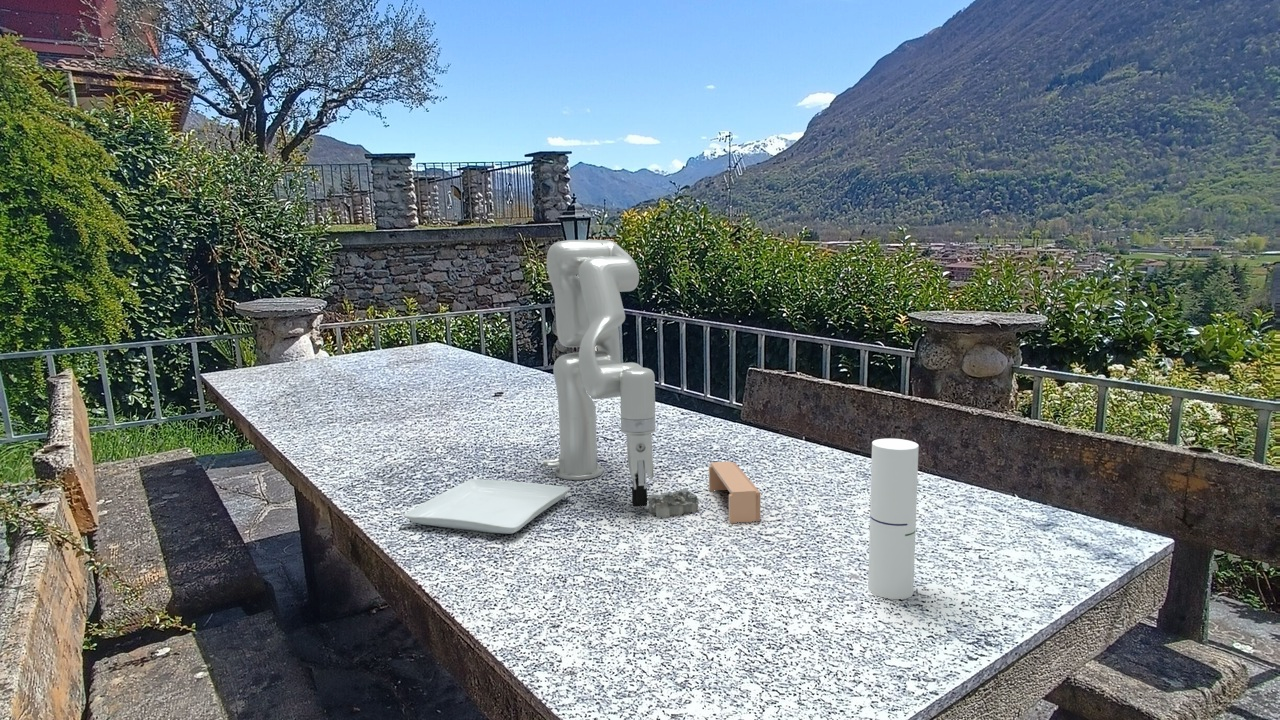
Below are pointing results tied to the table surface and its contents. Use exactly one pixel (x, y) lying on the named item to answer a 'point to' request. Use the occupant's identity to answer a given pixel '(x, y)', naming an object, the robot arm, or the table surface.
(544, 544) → the table surface
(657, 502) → the egg carton
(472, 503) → the square plate
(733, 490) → the shelf
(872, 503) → the cylindrical container
